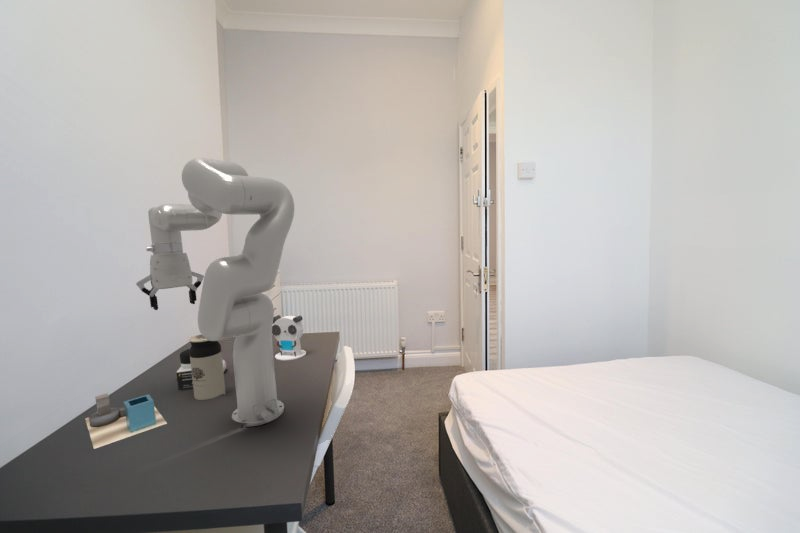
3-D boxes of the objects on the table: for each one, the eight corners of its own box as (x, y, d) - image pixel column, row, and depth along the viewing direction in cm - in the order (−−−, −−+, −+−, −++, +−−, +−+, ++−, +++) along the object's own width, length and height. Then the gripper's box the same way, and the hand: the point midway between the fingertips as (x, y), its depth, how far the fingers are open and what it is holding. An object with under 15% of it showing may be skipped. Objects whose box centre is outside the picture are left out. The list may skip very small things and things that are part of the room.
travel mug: (215, 389, 113) (209, 331, 111) (231, 394, 109) (225, 334, 107) (189, 400, 106) (182, 338, 104) (205, 406, 102) (198, 342, 100)
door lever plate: (167, 427, 91) (164, 397, 90) (94, 454, 82) (89, 420, 81) (149, 403, 106) (146, 376, 105) (85, 422, 96) (81, 394, 95)
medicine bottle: (178, 394, 110) (174, 355, 109) (185, 385, 117) (181, 348, 116) (205, 390, 112) (200, 352, 111) (210, 381, 119) (206, 345, 118)
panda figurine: (267, 359, 137) (263, 319, 136) (285, 349, 148) (282, 312, 147) (295, 361, 134) (292, 320, 132) (311, 350, 145) (308, 313, 143)
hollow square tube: (156, 423, 91) (153, 400, 91) (130, 432, 88) (127, 408, 87) (151, 416, 95) (148, 394, 94) (126, 424, 91) (123, 401, 91)
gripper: (134, 251, 101) (142, 313, 103) (203, 247, 113) (209, 302, 114) (130, 251, 107) (137, 310, 108) (196, 247, 118) (202, 300, 120)
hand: (174, 306), depth 111 cm, fingers open, 9 cm apart
